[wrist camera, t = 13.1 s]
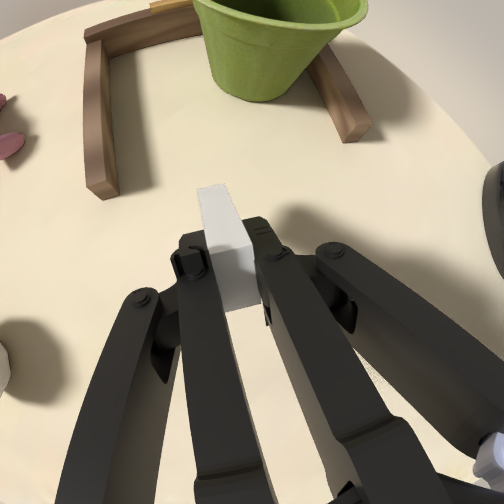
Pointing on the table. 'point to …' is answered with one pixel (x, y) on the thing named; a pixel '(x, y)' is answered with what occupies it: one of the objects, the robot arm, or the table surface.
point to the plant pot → (269, 40)
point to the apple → (4, 369)
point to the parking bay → (167, 29)
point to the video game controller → (9, 138)
